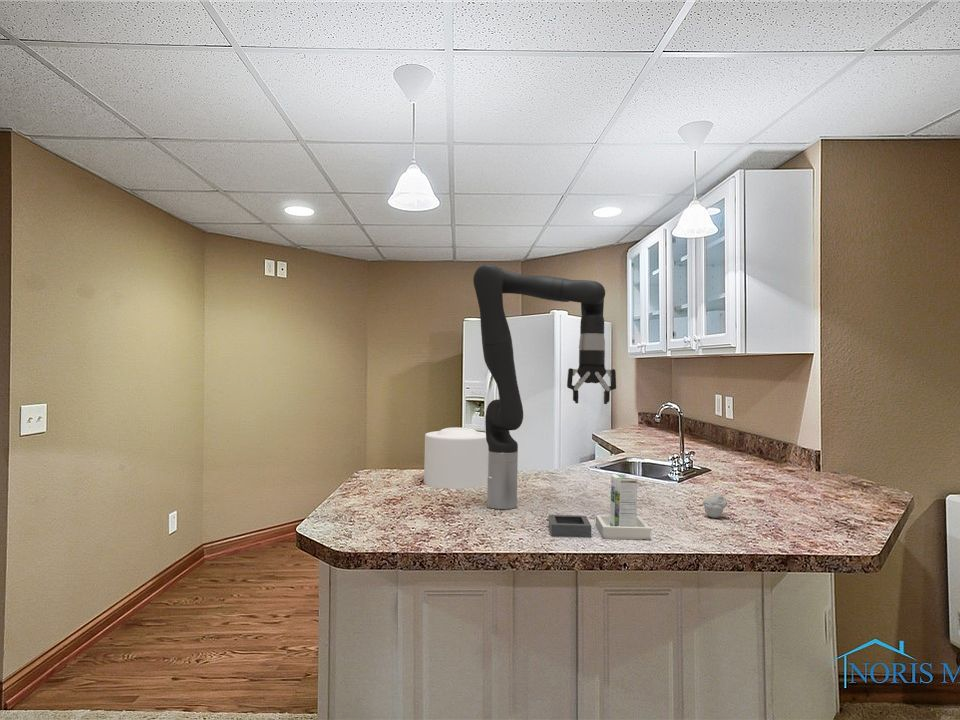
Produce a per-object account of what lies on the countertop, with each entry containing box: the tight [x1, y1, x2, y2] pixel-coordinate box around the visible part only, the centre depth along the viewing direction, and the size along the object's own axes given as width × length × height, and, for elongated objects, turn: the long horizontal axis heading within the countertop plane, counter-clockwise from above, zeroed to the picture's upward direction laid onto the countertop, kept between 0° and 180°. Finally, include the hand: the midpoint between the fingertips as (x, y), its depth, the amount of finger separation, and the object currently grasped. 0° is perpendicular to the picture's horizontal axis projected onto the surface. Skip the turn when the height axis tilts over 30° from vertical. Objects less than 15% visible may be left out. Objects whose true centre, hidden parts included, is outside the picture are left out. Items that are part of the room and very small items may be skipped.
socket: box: [548, 514, 592, 538], centre depth 155 cm, size 10×10×3 cm
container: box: [423, 426, 489, 490], centre depth 218 cm, size 25×25×20 cm
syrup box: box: [609, 473, 638, 527], centre depth 154 cm, size 6×6×14 cm
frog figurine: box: [702, 493, 729, 519], centre depth 172 cm, size 6×7×7 cm
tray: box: [595, 514, 652, 541], centre depth 154 cm, size 12×12×3 cm
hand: (591, 403), depth 173 cm, fingers open, 8 cm apart
